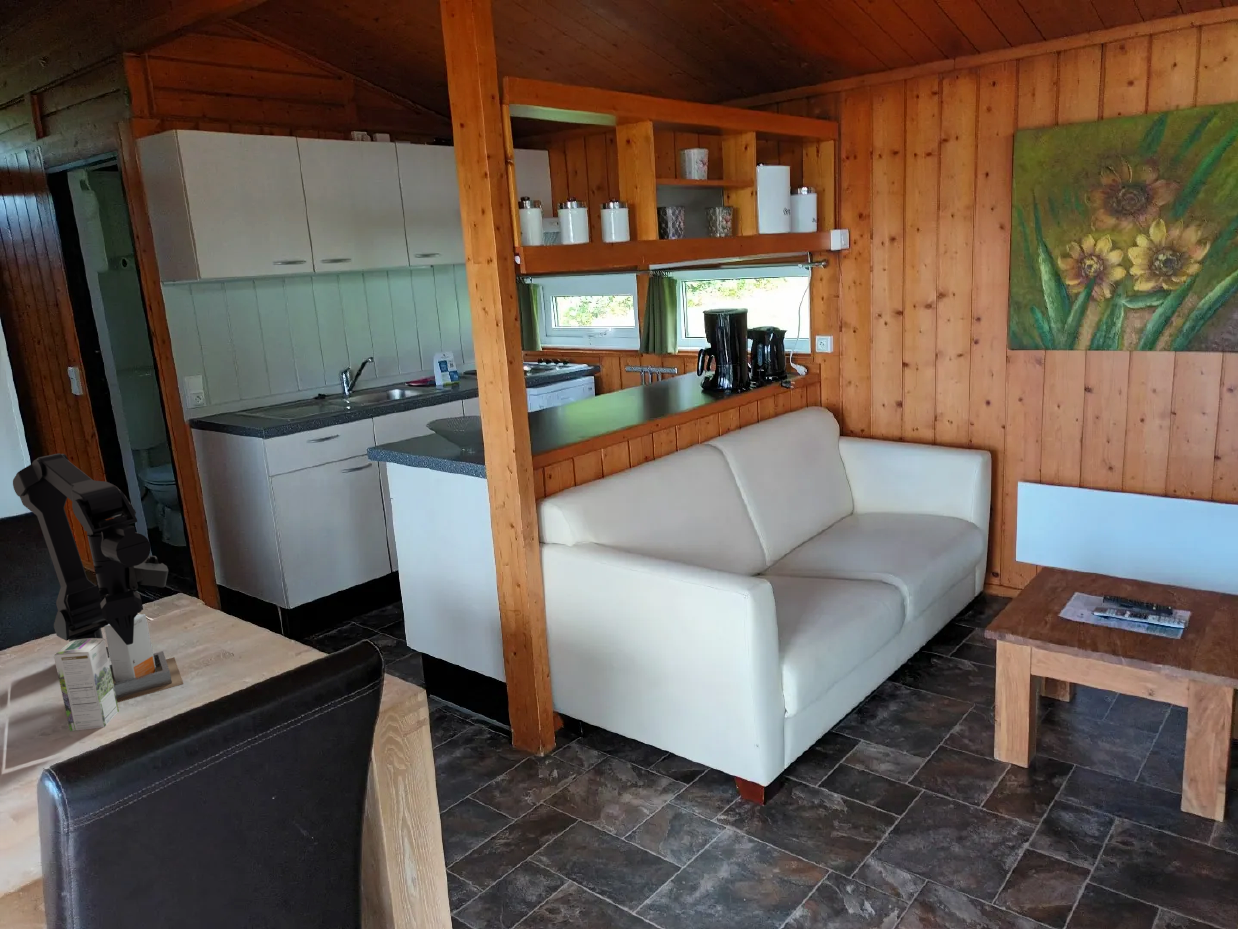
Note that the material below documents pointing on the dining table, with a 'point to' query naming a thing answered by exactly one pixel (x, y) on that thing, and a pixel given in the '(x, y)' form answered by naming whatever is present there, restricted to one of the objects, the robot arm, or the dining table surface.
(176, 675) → the walnut stand
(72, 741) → the dining table surface
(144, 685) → the metal collar
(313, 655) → the dining table surface
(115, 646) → the skincare box
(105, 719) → the syrup box
